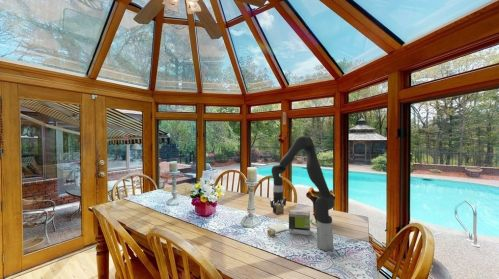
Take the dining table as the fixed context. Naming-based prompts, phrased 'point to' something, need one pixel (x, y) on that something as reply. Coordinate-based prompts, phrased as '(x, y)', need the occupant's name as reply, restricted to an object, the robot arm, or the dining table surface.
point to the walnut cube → (279, 209)
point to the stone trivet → (278, 227)
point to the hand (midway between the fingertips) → (278, 212)
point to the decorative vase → (313, 196)
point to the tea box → (299, 222)
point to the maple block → (271, 232)
